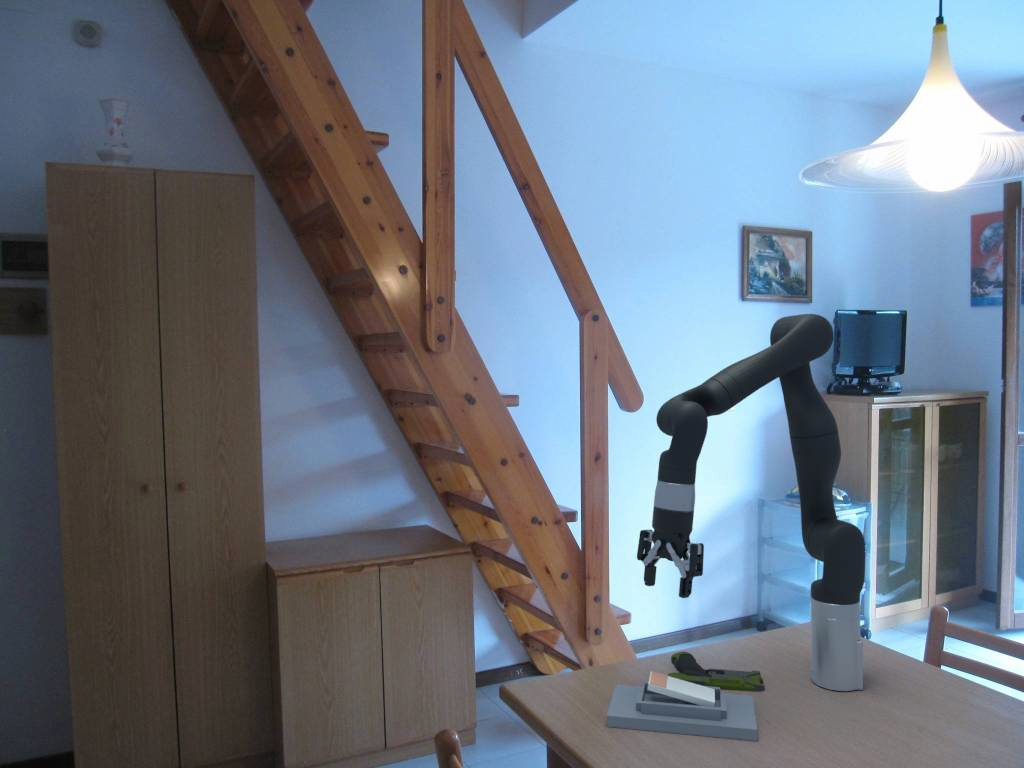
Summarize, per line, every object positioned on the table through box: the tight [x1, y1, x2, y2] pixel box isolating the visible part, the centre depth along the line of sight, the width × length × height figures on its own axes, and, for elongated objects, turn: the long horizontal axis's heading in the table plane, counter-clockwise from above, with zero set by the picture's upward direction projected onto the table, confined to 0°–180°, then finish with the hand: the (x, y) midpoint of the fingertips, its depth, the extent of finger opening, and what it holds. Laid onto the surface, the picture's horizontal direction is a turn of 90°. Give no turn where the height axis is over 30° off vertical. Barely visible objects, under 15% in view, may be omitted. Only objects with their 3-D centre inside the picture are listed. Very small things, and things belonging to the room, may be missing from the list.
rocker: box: [647, 670, 715, 707], centre depth 143 cm, size 12×6×1 cm, turn 76°
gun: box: [667, 651, 766, 692], centre depth 162 cm, size 2×19×15 cm
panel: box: [606, 680, 758, 742], centre depth 144 cm, size 26×14×4 cm, turn 76°
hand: (666, 591), depth 146 cm, fingers open, 8 cm apart
